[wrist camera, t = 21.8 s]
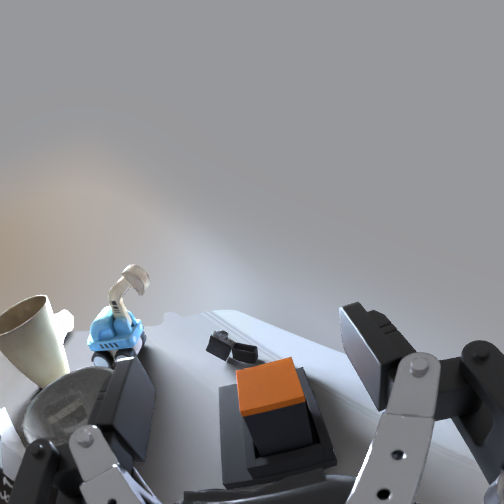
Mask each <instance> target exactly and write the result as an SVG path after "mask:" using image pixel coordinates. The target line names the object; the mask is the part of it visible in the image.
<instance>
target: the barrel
mask: <svg viewBox="0 0 504 504" xmlns="http://www.w3.org/2000/svg"><path fill="white" fill-rule="evenodd" d="M21 461H22V459H21V458H20V457H19V456H18V455H17V454H15V453H14V452H13V451H12V450H11V449H10V448H8V447H7V446H6V445H5V444H4V443H3V442H2V441H1V435H0V504H8V501H9V497H10V494H11V491H12V488H13V485H14V481H15V478H16V476H17V473H18V470H19V467H20V464H21ZM57 495H58V490H57V489H56V488H55V487H53V486H52V489H51V493H50V497H49V504H56V499H57Z"/></svg>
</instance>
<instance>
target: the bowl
mask: <svg viewBox="0 0 504 504" xmlns="http://www.w3.org/2000/svg"><path fill="white" fill-rule="evenodd" d="M113 371H114V370H113V369H110V368H107V367H103V366H90V367H85V368H81V369H78V370H75V371H72V372H70V373H68V374H65V375H63V376H61V377H60V378H58V379H56V380H55V381H54V382H52V383H50V384H49V385H48V386H46V387H45V388H44V389H43V390H41V391H40V392H39V393H38V394H37V395H36V397H35V398H34V399H33V400H32V402H31V403H30V404H29V405H28V407H27V409H26V412H25V415H24V417H23V421H22V427H21V429H22V430H23V435H24V437H25V439H26V441H27V443H28V445H29V444H30V443H31V442H33V441H34V440H36V439H40V438H45V439H47V440H48V441H49V442H50V443H51V444H52V445H53V446H58V445H61V444H65V443H69V439H70V437H71V435H72V434H73V432H74V431H75V430H77V429H78V428H80V427H82V426H84V425H87V423H88V420H89V417H90V414H91V412H92V409H93V406H94V404H95V401H97V399H96V398H97V396H98V393H100V392H99V391H100V388H101V385H102V383H103V381H104V380H105V379H106V378H107V377H108V375H109V374H110V373H113Z"/></svg>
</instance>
